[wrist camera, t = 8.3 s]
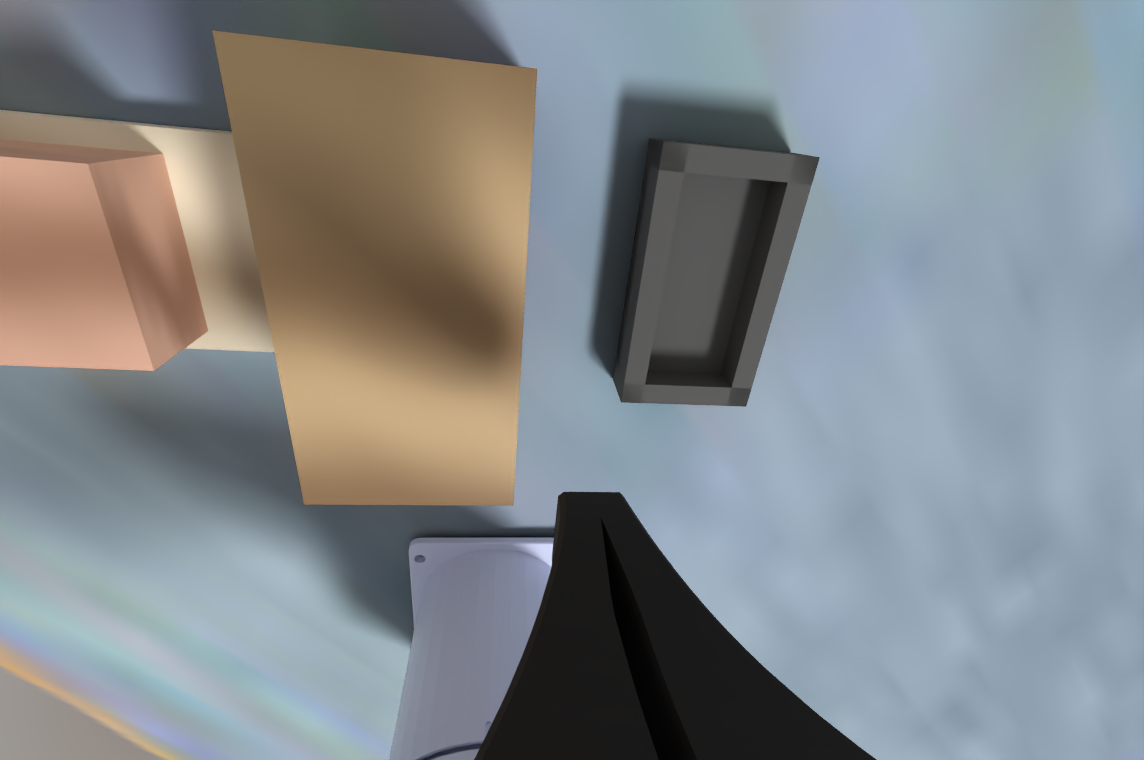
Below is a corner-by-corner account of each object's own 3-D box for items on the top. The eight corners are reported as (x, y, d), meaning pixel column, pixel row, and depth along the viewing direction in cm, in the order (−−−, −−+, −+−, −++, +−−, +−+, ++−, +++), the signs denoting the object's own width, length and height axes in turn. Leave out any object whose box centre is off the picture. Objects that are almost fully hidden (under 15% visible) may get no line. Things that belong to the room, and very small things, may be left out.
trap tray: (729, 384, 22) (745, 406, 20) (613, 379, 21) (621, 402, 19) (791, 152, 17) (819, 157, 16) (649, 138, 17) (663, 141, 15)
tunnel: (514, 401, 21) (513, 505, 15) (361, 396, 20) (303, 504, 15) (529, 81, 16) (537, 69, 10) (323, 58, 15) (212, 30, 9)
